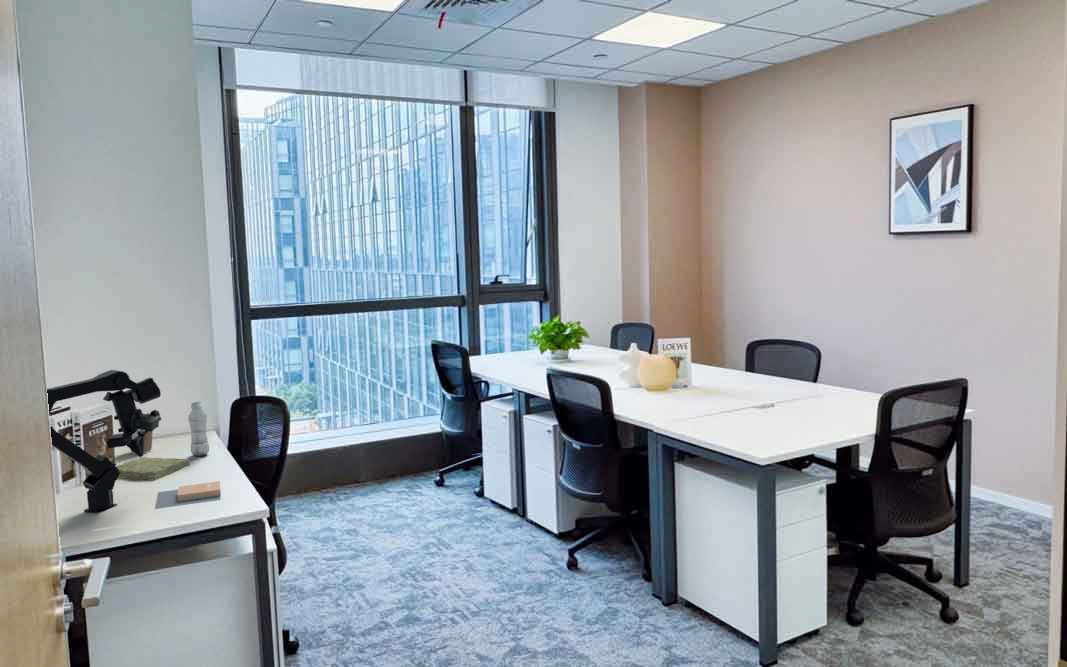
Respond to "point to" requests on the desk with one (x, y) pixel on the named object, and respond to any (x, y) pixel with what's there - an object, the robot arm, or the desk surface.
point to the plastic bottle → (198, 430)
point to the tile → (199, 491)
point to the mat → (172, 499)
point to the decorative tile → (151, 467)
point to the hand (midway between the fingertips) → (141, 456)
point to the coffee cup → (147, 442)
